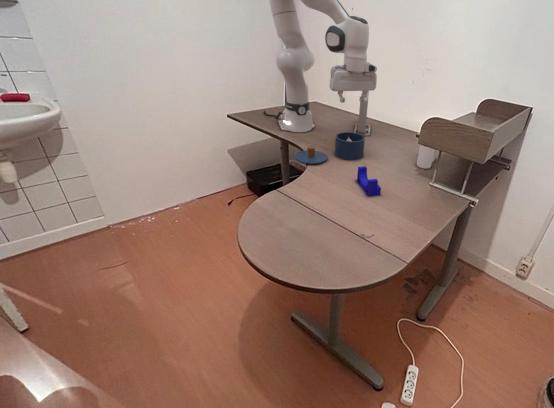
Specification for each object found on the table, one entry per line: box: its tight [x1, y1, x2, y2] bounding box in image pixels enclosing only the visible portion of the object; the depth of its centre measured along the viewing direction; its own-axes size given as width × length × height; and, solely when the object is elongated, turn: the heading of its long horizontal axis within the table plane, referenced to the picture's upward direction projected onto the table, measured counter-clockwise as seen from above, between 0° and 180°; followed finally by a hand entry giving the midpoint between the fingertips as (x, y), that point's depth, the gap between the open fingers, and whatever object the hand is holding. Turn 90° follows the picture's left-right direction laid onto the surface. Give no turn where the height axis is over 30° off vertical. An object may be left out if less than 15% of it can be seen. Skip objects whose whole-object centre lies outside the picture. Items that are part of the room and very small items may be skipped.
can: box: [416, 144, 435, 170], centre depth 128 cm, size 6×6×12 cm
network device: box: [353, 91, 371, 137], centre depth 163 cm, size 26×9×20 cm, turn 178°
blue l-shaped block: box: [356, 165, 382, 198], centre depth 108 cm, size 12×4×6 cm, turn 21°
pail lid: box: [294, 145, 328, 165], centre depth 127 cm, size 14×14×5 cm
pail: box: [334, 131, 366, 161], centre depth 133 cm, size 13×13×8 cm
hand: (352, 101), depth 123 cm, fingers open, 8 cm apart
